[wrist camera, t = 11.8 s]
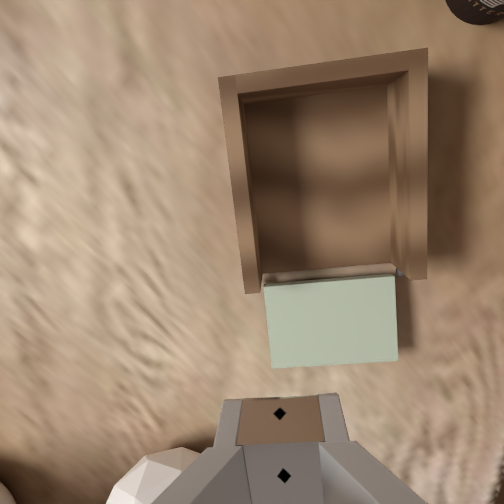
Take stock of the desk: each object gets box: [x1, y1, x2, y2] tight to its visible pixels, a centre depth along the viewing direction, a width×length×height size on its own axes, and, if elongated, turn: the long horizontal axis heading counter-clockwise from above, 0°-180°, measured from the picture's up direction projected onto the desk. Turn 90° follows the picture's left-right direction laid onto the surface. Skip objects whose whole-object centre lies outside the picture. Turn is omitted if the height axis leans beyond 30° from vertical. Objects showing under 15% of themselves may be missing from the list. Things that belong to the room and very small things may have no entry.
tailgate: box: [263, 274, 398, 369], centre depth 33 cm, size 1×12×8 cm
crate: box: [218, 48, 428, 294], centre depth 29 cm, size 17×14×6 cm
